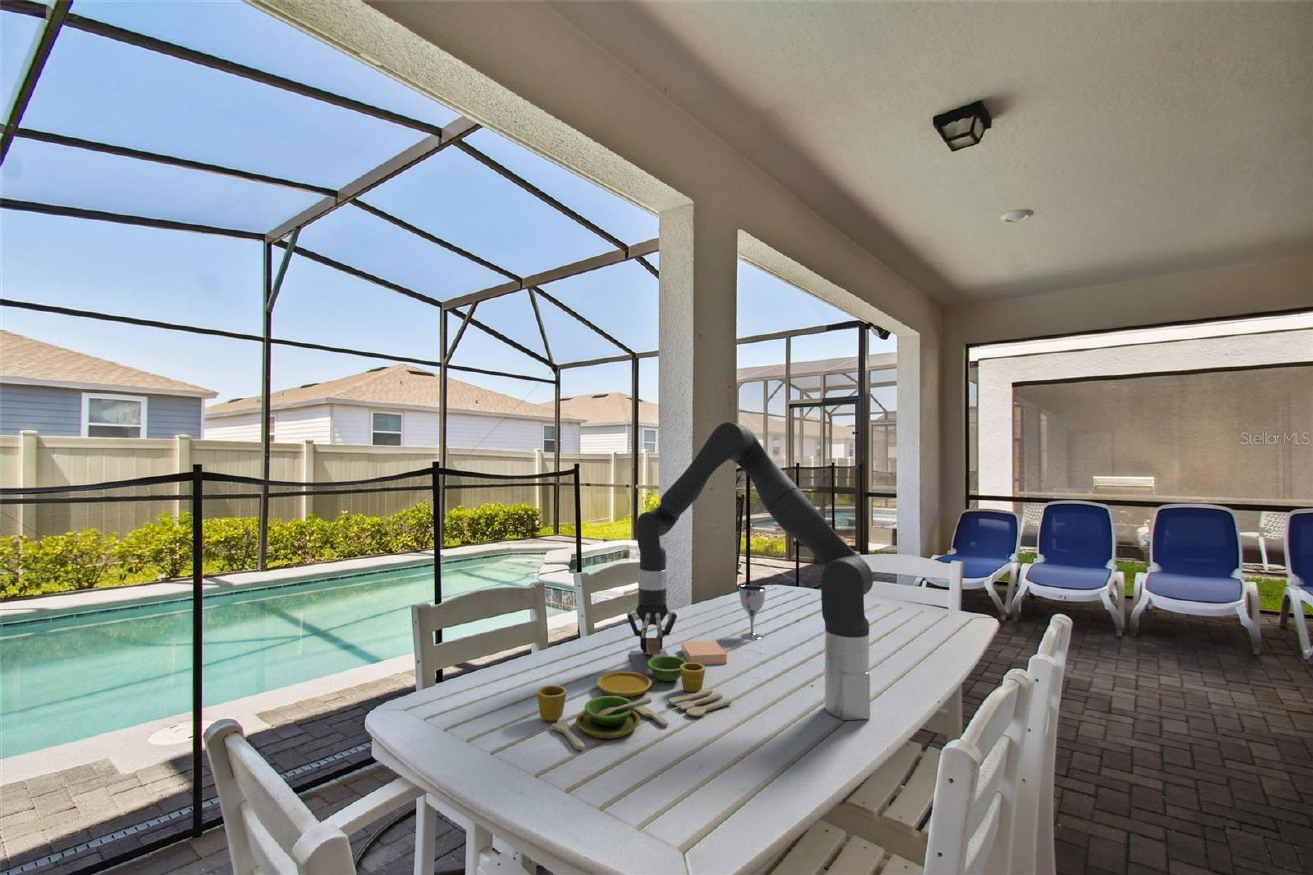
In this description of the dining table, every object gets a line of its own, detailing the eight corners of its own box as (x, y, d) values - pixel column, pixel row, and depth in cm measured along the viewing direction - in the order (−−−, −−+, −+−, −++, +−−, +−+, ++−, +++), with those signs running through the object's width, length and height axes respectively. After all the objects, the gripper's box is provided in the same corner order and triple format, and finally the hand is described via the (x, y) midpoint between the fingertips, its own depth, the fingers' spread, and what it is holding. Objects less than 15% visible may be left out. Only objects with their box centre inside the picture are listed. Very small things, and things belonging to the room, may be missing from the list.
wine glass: (766, 640, 178) (767, 590, 179) (740, 640, 178) (741, 590, 179) (762, 632, 186) (763, 585, 187) (737, 632, 186) (737, 584, 187)
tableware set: (572, 756, 107) (573, 721, 107) (517, 700, 130) (517, 672, 130) (741, 704, 131) (741, 675, 131) (668, 664, 154) (669, 640, 154)
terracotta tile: (726, 654, 158) (715, 640, 169) (690, 655, 156) (681, 641, 168) (726, 665, 157) (715, 651, 169) (690, 667, 156) (681, 652, 168)
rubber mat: (675, 676, 148) (675, 672, 148) (636, 677, 147) (636, 674, 147) (665, 652, 166) (665, 649, 166) (630, 653, 165) (630, 650, 165)
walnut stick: (660, 654, 150) (660, 637, 151) (648, 654, 149) (648, 638, 151) (653, 653, 163) (653, 637, 164) (642, 653, 163) (642, 638, 164)
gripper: (627, 589, 153) (625, 656, 152) (680, 588, 154) (679, 655, 154) (625, 583, 160) (623, 647, 159) (676, 582, 162) (675, 646, 161)
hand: (651, 650), depth 157 cm, fingers closed on walnut stick, 3 cm apart
